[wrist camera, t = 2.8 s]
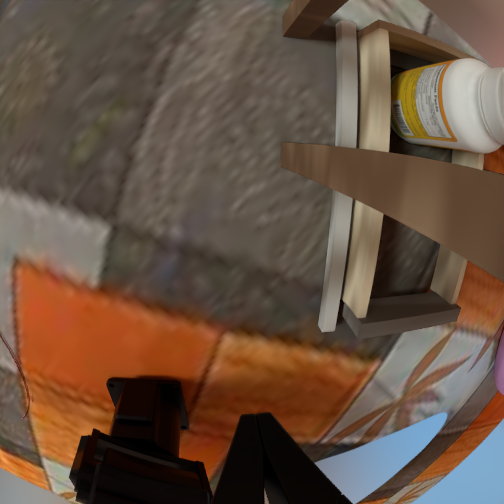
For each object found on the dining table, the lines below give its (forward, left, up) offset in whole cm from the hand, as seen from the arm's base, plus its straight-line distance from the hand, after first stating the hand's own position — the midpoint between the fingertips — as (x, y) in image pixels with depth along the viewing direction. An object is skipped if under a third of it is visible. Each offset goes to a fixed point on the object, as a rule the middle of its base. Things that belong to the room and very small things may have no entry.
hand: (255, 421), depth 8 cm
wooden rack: (+5, -13, -13) cm, 19 cm away
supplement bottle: (+11, -13, -13) cm, 21 cm away
